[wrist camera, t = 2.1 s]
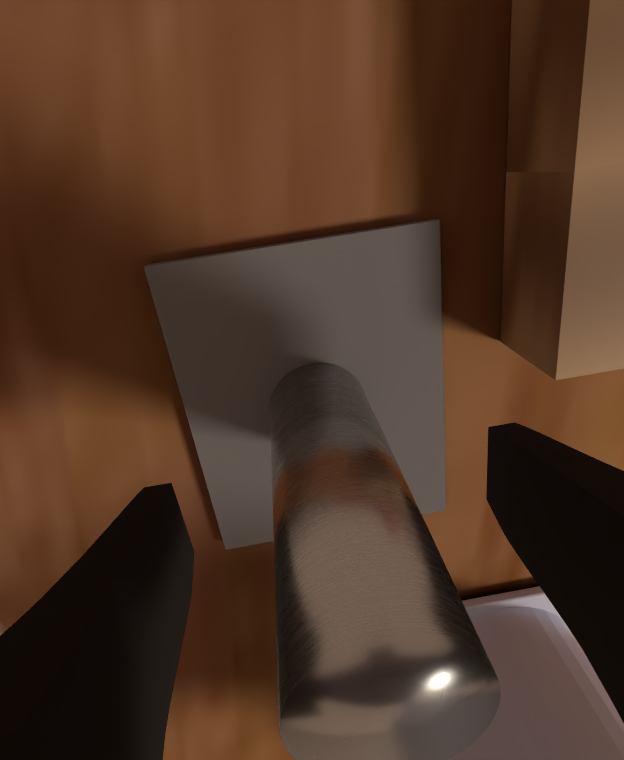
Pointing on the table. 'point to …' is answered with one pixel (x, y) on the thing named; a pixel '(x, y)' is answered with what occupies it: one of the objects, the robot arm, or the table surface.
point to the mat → (306, 353)
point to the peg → (363, 591)
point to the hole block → (565, 187)
